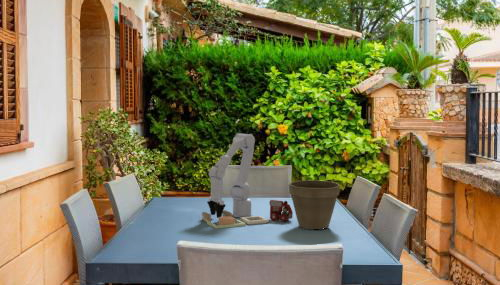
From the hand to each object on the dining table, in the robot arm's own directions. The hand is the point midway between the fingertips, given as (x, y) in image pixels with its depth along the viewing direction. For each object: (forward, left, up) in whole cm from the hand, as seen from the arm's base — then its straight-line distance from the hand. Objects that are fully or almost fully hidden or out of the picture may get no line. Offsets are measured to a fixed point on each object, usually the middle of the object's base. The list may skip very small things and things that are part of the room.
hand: (216, 216), depth 287 cm
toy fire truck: (-31, +13, -2) cm, 34 cm away
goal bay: (0, +12, -2) cm, 12 cm away
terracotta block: (0, +13, -2) cm, 13 cm away
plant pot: (-38, +33, -2) cm, 50 cm away
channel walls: (0, +1, -2) cm, 2 cm away
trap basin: (-16, +12, -2) cm, 20 cm away
